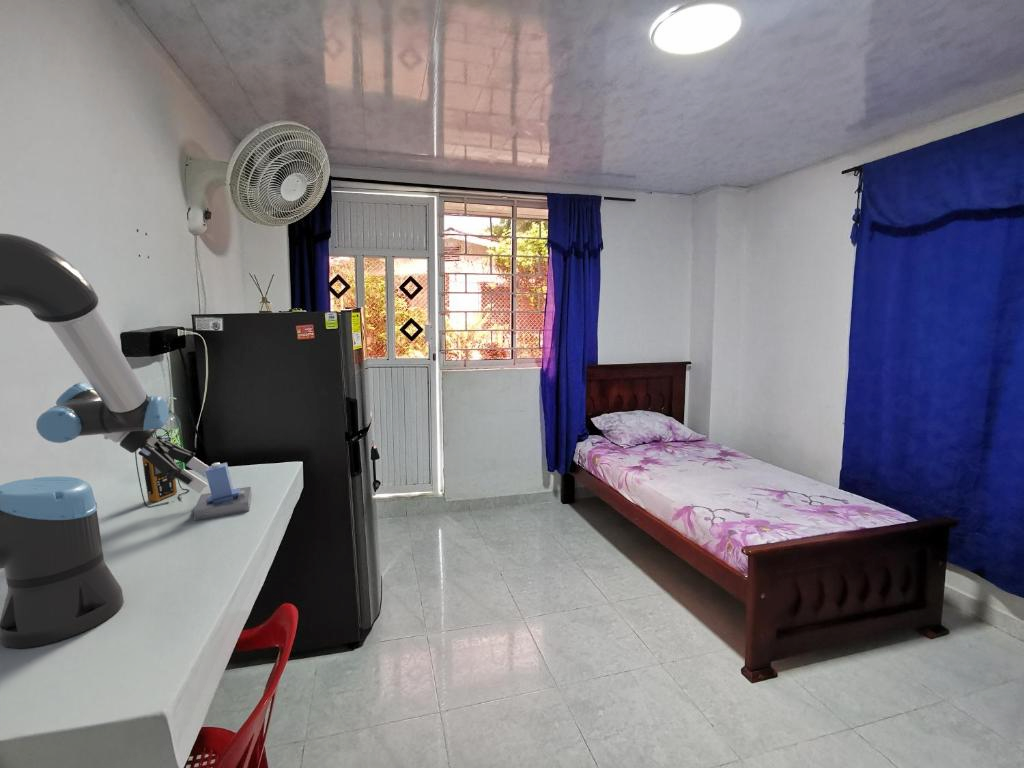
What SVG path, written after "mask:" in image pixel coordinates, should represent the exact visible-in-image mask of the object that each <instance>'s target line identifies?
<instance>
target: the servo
mask: <svg viewBox="0 0 1024 768" xmlns="http://www.w3.org/2000/svg"><path fill="white" fill-rule="evenodd" d="M208 466H209V465H208ZM205 472H206V475H207V479H206V480H207V484H208V486H209V491H210V493H211V494H212V495H210V496H208V497H207V500H206V503H209V502H214V503H218V502H224V501H229V500H235V499H236V497H235V496H236V495H239V494H240V488H241V487H238V488H234V485H233V482H232V478H231V474H230V469H229V465H228V462H223V463H220V462H214V463H211V465H210V466H209V467H207V469H206V471H205Z"/></svg>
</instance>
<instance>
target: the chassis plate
mask: <svg viewBox="0 0 1024 768" xmlns="http://www.w3.org/2000/svg"><path fill="white" fill-rule="evenodd" d="M239 488H240V494H239V495H236V496H235V497H236V499H235V500H229V501H224V502H218V503H214V502H209V503H206V500H207V497H208V496H210V495H212V494H211V492H208V493H207V492H206V493H203V494H202V493H201V494H200V496H199V498H198V501H197V503H196V504H195V507H194V509H193V519H194V521H200V519H201V520H205V519H204V518H206V519H211V518H210V517H212V518H216V517H217V516H218V517H222V516H223V517H224V516H228V515H234V514H235V515H236V514H240V513H244V512H250V508H251V502H252V497H253V496H252V487H251V486H246V487H239Z"/></svg>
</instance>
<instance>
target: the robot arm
mask: <svg viewBox="0 0 1024 768" xmlns="http://www.w3.org/2000/svg"><path fill="white" fill-rule="evenodd" d="M99 305H100V299H99V296H98V295H97V293H96V291H95V290H94V288H93V287H92V285H91V283H90V282H89V281H88V280H87V278H86V277H85V276H84V275H83V273H81V271H79V270H78V269H77V268H76V267H75V266H74V265H73V264H71V262H69V261H68V260H67V259H66V258H64V257H62V256H61V255H59V254H58V253H57V252H56V251H53V250H52V249H50V248H49V247H46V246H45V245H43V244H42V243H39V242H37V241H34V240H32V239H29V238H26V237H23V236H20V235H15V234H10V233H0V306H1V307H2V306H21V307H24V308H27V309H28V310H30V312H31V313H32V314H33V316H34V317H35V318H36V319H37V320H38V321H40V322H42V323H47V324H48V325H49V327H50V328H51V329H52V331H53V333H54V334H55V335H56V337H57V338H58V340H59V341H60V342H61V344H62V345H63V347H64V349H65V350H66V351H67V353H68V354H69V355H70V357H71V358H72V360H73V361H74V363H75V364H76V365H77V367H78V368H79V369H80V370H79V371H81V373H82V374H83V375H84V377H85V378H86V380H87V381H88V383H89V384H90V385H89V384H88V383H86V382H81V381H80V382H76V383H75V384H73V385H72V386H71V387H68V388H67V389H66V390H65V391H64V392H63V393H62V394H60V396H59V397H58V398H57V400H55V401H56V402H55V405H53V406H52V407H50V408H48V409H47V410H45V411H44V412H43V413H41V414H40V415H39V417H38V418H37V420H36V423H35V427H36V431H37V433H38V435H40V437H42V438H43V439H44V440H46V441H48V442H51V443H54V444H55V443H57V444H62V443H67V442H69V441H72V440H73V441H74V440H75V439H76V438H78V437H82V436H83V437H84V436H95V435H97V436H98V435H102V436H103V439H104V440H111V441H112V442H114V443H119V446H120V447H121V448H123V449H124V450H126V451H127V452H129V453H131V454H135V452H136V453H137V454H138V455H139V456H141V457H144V458H145V459H147V460H148V461H149V462H150V463H151V464H152V465H154V466H155V467H156V468H157V469H158V470H159V471H161V472H162V473H163V474H164V475H165V476H166V477H167V478H169V480H171V481H173V480H174V479H175V480H176V481H178V480H179V483H182V484H183V485H185V486H186V487H188V488H190V489H191V490H193V491H195V492H196V493H198V494H200V493H201V492H202V491H203V490H204V489H205V488H206V487H207V486H209V483H208V482H206V481H204V480H203V479H201V478H199V477H198V476H196V475H195V474H193V473H191V472H190V471H188V470H187V469H185V468H183V469H182V468H181V467H180V466H179V465H178V464H177V462H176V461H178V462H181V463H183V464H185V466H186V467H188V468H189V469H191V470H192V471H194V472H195V473H197V474H198V475H200V476H202V477H203V478H204V479H206V480H208V479H207V475H206V472H205V471H206V469H207V467H209V465H208V464H205V463H204V462H203V461H201V460H200V459H198V458H197V457H195V455H196V452H194V451H191V450H188V449H186V448H183V447H182V446H179V445H178V444H176V443H174V442H171V440H170V441H169V439H168V440H167V439H166V438H164V437H162V436H161V435H157V437H156V436H154V434H155V432H156V433H157V430H158V429H157V428H163V427H165V426H166V424H168V420H169V407H168V403H167V401H166V399H165V398H164V397H162V396H156V395H155V396H154V395H151V396H149V395H148V394H147V392H146V391H145V389H144V387H143V386H142V384H141V382H140V381H139V379H138V378H137V376H136V374H135V373H134V370H133V369H132V367H131V365H130V363H129V362H128V360H127V358H126V356H125V355H124V353H123V351H122V349H121V348H120V346H119V345H118V343H117V341H116V339H115V338H114V335H113V334H112V331H111V330H110V329H109V327H108V325H107V323H106V322H105V320H104V319H103V316H102V315H101V313H100V311H99V310H98V306H99ZM156 429H157V430H156ZM152 435H153V436H152ZM139 449H140V450H139ZM138 450H139V451H138ZM137 451H138V452H137ZM172 459H174V461H175V462H174V461H173V460H172ZM97 509H98V504H97V502H96V499H95V494H94V491H93V488H92V486H91V485H90V483H88V481H85V480H83V479H81V478H79V477H72V476H71V477H70V476H40V477H39V476H38V477H34V478H28V479H27V478H25V479H20V480H19V479H18V480H14V481H10V482H6V483H3V484H0V569H4V574H5V579H6V585H7V592H6V596H5V600H4V605H3V608H2V610H1V616H0V643H1V645H2V646H4V647H6V646H7V647H6V648H10V647H11V648H12V649H25V648H26V649H27V648H34V647H39V646H40V647H41V646H44V645H48V644H53V643H56V642H58V641H62V640H66V639H68V638H72V637H73V636H76V635H80V634H81V633H84V632H86V631H88V630H90V629H92V628H94V627H96V626H99V625H100V624H102V623H104V622H105V621H106V620H108V619H110V618H111V617H113V616H114V615H116V613H117V612H119V610H120V609H121V608H123V605H124V602H125V600H124V593H123V588H122V586H121V585H120V583H119V582H118V581H117V579H116V577H115V575H114V574H113V573H112V572H111V570H110V568H109V567H108V566H107V564H106V561H105V559H104V552H103V545H102V544H103V543H102V538H101V530H100V529H101V528H100V523H99V516H98V510H97Z"/></svg>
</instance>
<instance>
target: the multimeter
mask: <svg viewBox="0 0 1024 768" xmlns="http://www.w3.org/2000/svg"><path fill="white" fill-rule="evenodd" d="M159 429H160V430H164V431H165V432H166V434H167V436H168V437H167V438H168V441H170V442H171V439H170V433H169V432H168V430H166V429H165V428H163V427H162V428H157V429H156V432H155V433H154V434H155V438H156V437H157V436H158V435H157V430H159ZM154 434H153V435H152V436H153V437H154ZM134 456H135V457H134V458H135V465H136V472H137V476H138V483H139V487H140V492H141V496H142V500H143V504H144V506H145V507H147V508H154V507H156V506H163V505H166V504H169V503H173V502H175V501H177V499H175V500H171V501H165V502H161V503H157V504H154V505H148V504H147V502H146V501H145V496H144V494H143V493H144V492H143V489H142V483H141V478H140V473H139V472H140V471H139V467H138V457H137V451H136V452H134ZM141 457H142V456H141ZM141 460H142V465H143V466H142V467H143V474H144V480H145V481H144V482H145V488H146V493H147V501H148V502H153V503H154V502H155V503H156V502H160V501H162V500H164V499H166V498H169V497H171V496H175V495H177V493H178V491H177V482H178V486H179V487H180V489H181V490H184V491H185V492H182V493H179V494H178V498H179V500H180V501H183V497H182V496H181V495H184V494H187V493H188V492H190V489H187V488H183V487H182V486H181V482H180V481H179V480H177V479H174V480H173V481H171V480H169V478H167V477H166V476H165V475H164V474H163V473H162V472H161V471H159V470H158V469H157V468H156V467H155V466H154V465H152V464H151V463H150V462H149V461H148V460H147V459H145V458H144V457H142V459H141ZM172 460H173V461H174V462H175V463H176V460H175V459H172ZM176 481H177V482H176Z"/></svg>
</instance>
